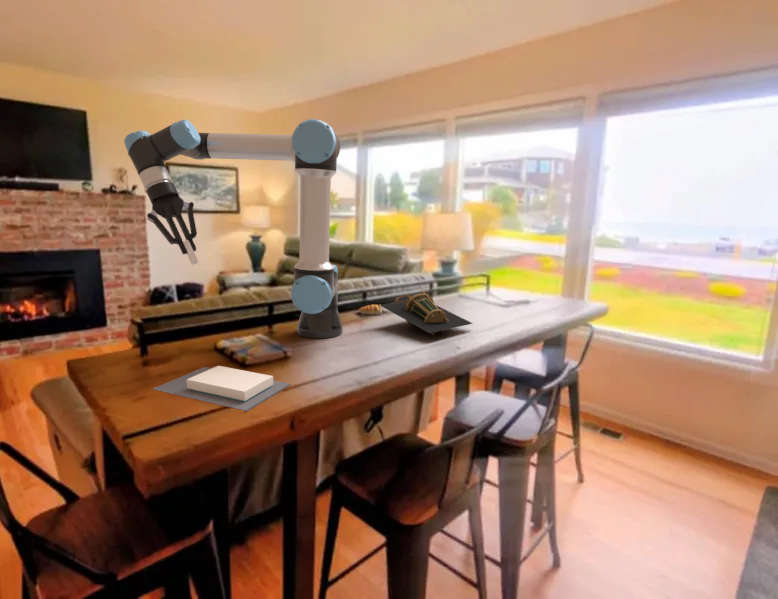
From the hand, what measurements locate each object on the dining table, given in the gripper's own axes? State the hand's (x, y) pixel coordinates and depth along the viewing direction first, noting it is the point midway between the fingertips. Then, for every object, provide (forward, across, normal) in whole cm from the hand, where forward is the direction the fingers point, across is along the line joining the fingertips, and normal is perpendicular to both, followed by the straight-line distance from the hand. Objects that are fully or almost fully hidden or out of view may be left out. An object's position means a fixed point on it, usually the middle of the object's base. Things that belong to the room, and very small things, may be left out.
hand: (195, 262), depth 129 cm
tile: (+30, +12, +19) cm, 38 cm away
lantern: (+47, -61, -4) cm, 77 cm away
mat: (+34, +10, +22) cm, 42 cm away
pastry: (+36, -58, -28) cm, 74 cm away
